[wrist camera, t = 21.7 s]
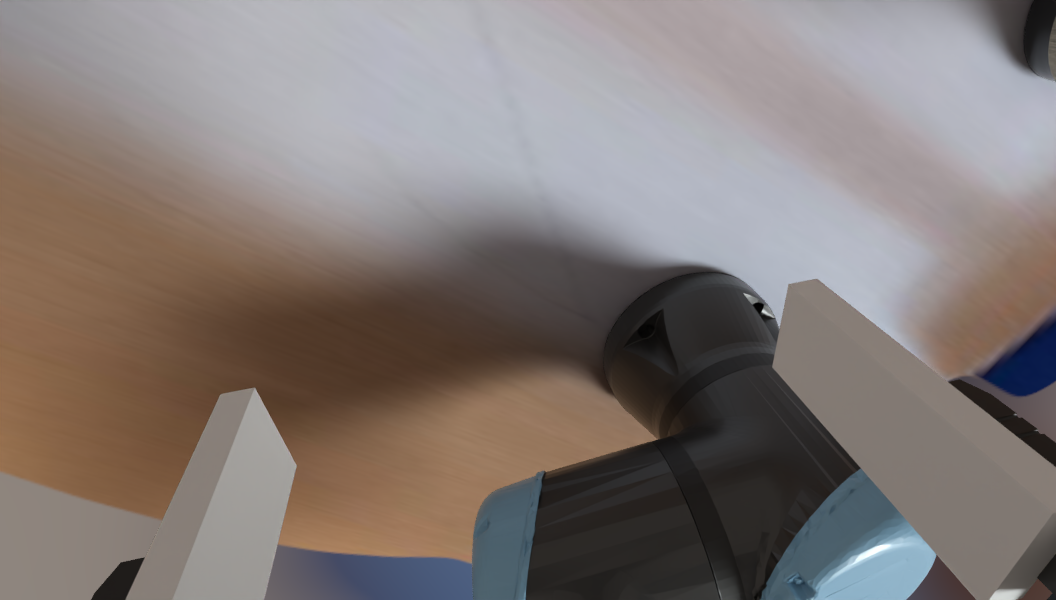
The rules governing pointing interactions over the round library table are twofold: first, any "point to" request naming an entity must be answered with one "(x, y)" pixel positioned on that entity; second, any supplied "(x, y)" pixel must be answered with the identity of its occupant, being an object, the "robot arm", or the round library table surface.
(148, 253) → the round library table surface
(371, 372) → the round library table surface
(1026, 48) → the lamp
